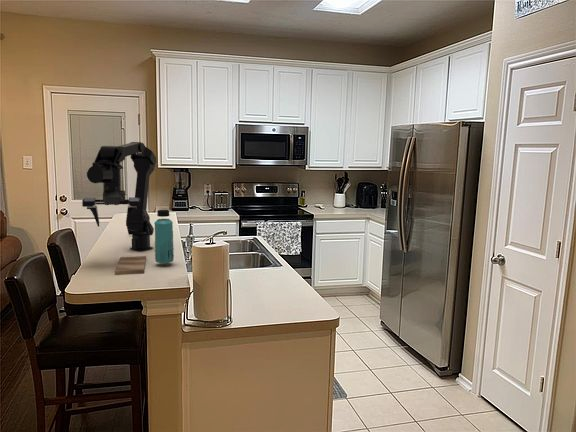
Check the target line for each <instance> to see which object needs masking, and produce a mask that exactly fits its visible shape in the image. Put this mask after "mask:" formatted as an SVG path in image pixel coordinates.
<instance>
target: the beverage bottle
mask: <svg viewBox="0 0 576 432" xmlns="http://www.w3.org/2000/svg"><path fill="white" fill-rule="evenodd" d="M157 217H159V218H158V219H156V221H154V257H155V258H154V259H155V262H156V263H157V264H170V263H172V262H173V263H174V260H175V259H174V257H175V255H174V254H175V253H174V250H175V248H174V230H173V228H174V227H173V224H174V222H173V221H172V220H171V219H170V218H165V217H170V210H169V209H158V210H157ZM160 217H162V218H160ZM163 217H164V218H163Z"/></svg>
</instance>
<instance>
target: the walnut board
mask: <svg viewBox="0 0 576 432" xmlns="http://www.w3.org/2000/svg"><path fill="white" fill-rule="evenodd" d="M146 262H147V255H137V256H120V258H119V260H118V261H117V265H116V267H115V270H114V275H116V276H117V275H133V274H134V275H135V274H136V275H137V274H139V275H140V274H144V273H145V267H146Z"/></svg>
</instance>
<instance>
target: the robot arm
mask: <svg viewBox="0 0 576 432" xmlns="http://www.w3.org/2000/svg"><path fill="white" fill-rule="evenodd" d="M99 148H100V149H99V150H98V152H97V154H96V157H95V158H94V159H95V160H94V161H93V162H92V166H90V167H89V168H88V169H87V172H86V177H87V179H88V181H89V182H90V183H91V184H102V188H103V189H102V191H103V192H102V199H100V198H99V199H97V198H96V196H91V197H90V196H89V197H87V196H86V197H84V198H82V200H81V201H82V202H81V204H82V207H85V208H86V209H87V210H90V212H91V213H92V215H93V217H94V219H95V222H96V225H97V227H98V228H99V227H100V218H99V212H98V205H104V206H110V205H111V206H112V205H113V206H119V205H127V211H126V219H125V226H126V230H127V233H128V235H129V236H131V237H132V238H131V247H130V248H129V249H130V250H133V251H137V252H142V251H149V250H152V249H153V247H152V246H151V236H153V234H154V233H155V227H154V226H153V225H152V224H151V221H150V220H151V219H150V214H149V213H148V211H147V205H148V197H149V196H148V195H149V188H150V187H149V186H150V177H151V175H152V174H153V172H154V171H155V169H156V164H157V156H156V155H155V153H154V151H153V150H152V149H150V148H149V147H147V146H146V145H145V143H144V142H141V141H130V142H129V143H126V144H121V145H116V146H115V145H102V146H100V147H99ZM129 156H130V159H131V161H132V162H133V168H134V170H135V172H136V181H135V183H136V184H135V190H134V191H135V192H134V197H131V196H130V197H128V198H127V199H126V190H122V185H121V183H122V181H121V180H122V177H121V170H123V169H124V167H123V165H121V163H122V162H124V161H125V160H126V157H129Z"/></svg>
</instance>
